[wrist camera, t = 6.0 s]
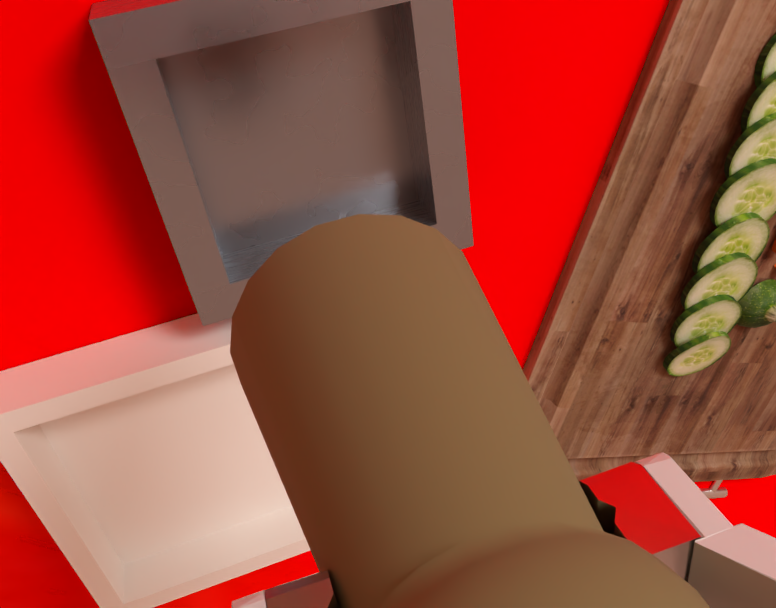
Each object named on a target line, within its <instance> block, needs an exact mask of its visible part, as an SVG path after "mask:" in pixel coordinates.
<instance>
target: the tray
mask: <svg viewBox="0 0 776 608" xmlns="http://www.w3.org/2000/svg"><path fill="white" fill-rule="evenodd" d="M231 325H232V318H229V319H226V320H222V321H219V322H216V323H212V324H209V325H206V326H203V325H202V322H201V320H200V317H199V314H198V313H197V314H194V315H190V316H187V317H183V318H180V319H177V320H173V321H170V322H166V323H163V324H160V325H156V326H153V327H149V328H146V329H143V330H139V331H136V332H132V333H129V334H126V335H122V336H119V337H116V338H112V339H109V340H105V341H102V342H99V343H95V344H92V345H88V346H85V347H82V348H78V349H75V350H71V351H68V352H65V353H61V354H58V355H54V356H51V357H48V358H44V359H41V360H38V361H34V362H31V363H27V364H24V365H21V366H17V367H14V368H10V369H7V370H4V371H0V461H1V462H2V464H3V465H4V467H5V468H6V470H7V471H8V473H9V474H10V476H11V477H12V479H13V480H14V482H15V483H16V485H17V486H18V488H19V489H20V490H21V492H22V493H23V495H24V496H25V498H26V499H27V501H28V502H29V504H30V505H31V507H32V508H33V510H34V511H35V513H36V514H37V516H38V517H39V518H40V520H41V521H42V523H43V524H44V526H45V527H46V529H47V530H48V532H49V533H50V535H51V536H52V538H53V539H54V541H55V542H56V544H57V545H58V547H59V548H60V549H61V551H62V552H63V554H64V555H65V557H66V558H67V560H68V561H69V563H70V564H71V566H72V567H73V569H74V570H75V572H76V573H77V575H78V576H79V577H80V579H81V580H82V582H83V583H84V585H85V586H86V588H87V589H88V591H89V592H90V594H91V595H92V597H93V598H94V600H95V601H96V603H97V604H98V605H99V607H100V608H153V607H156V606H159V605H162V604H164V603H167V602H170V601H173V600H175V599H178V598H181V597H184V596H186V595H189V594H192V593H194V592H197V591H200V590H203V589H205V588H208V587H211V586H214V585H216V584H219V583H222V582H225V581H227V580H230V579H233V578H236V577H238V576H241V575H244V574H247V573H249V572H252V571H255V570H258V569H260V568H263V567H266V566H269V565H271V564H274V563H277V562H280V561H282V560H285V559H288V558H290V557H293V556H296V555H299V554H301V553H304V552H307V551H310V548H309V545H308V543H307V540H306V538H305V536H304V533H303V531H302V529H301V526H300V524H299V521H298V519H297V517H296V514H295V512H294V509H293V507H292V505H291V502H290V500H289V498H288V495H287V493H286V490H285V488H284V486H283V483H282V481H281V479H280V476H279V474H278V471H277V469H276V467H275V464H274V462H273V459H272V457H271V455H270V452H269V450H268V448H267V445H266V443H265V440H264V438H263V436H262V433H261V431H260V429H259V426H258V424H257V421H256V419H255V417H254V414H253V412H252V409H251V407H250V405H249V402H248V400H247V398H246V395H245V393H244V390H243V388H242V386H241V383H240V380H239V377H238V374H237V372H236V369H235V366H234V363H233V360H232V357H231V354H230V342H231Z"/></svg>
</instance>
